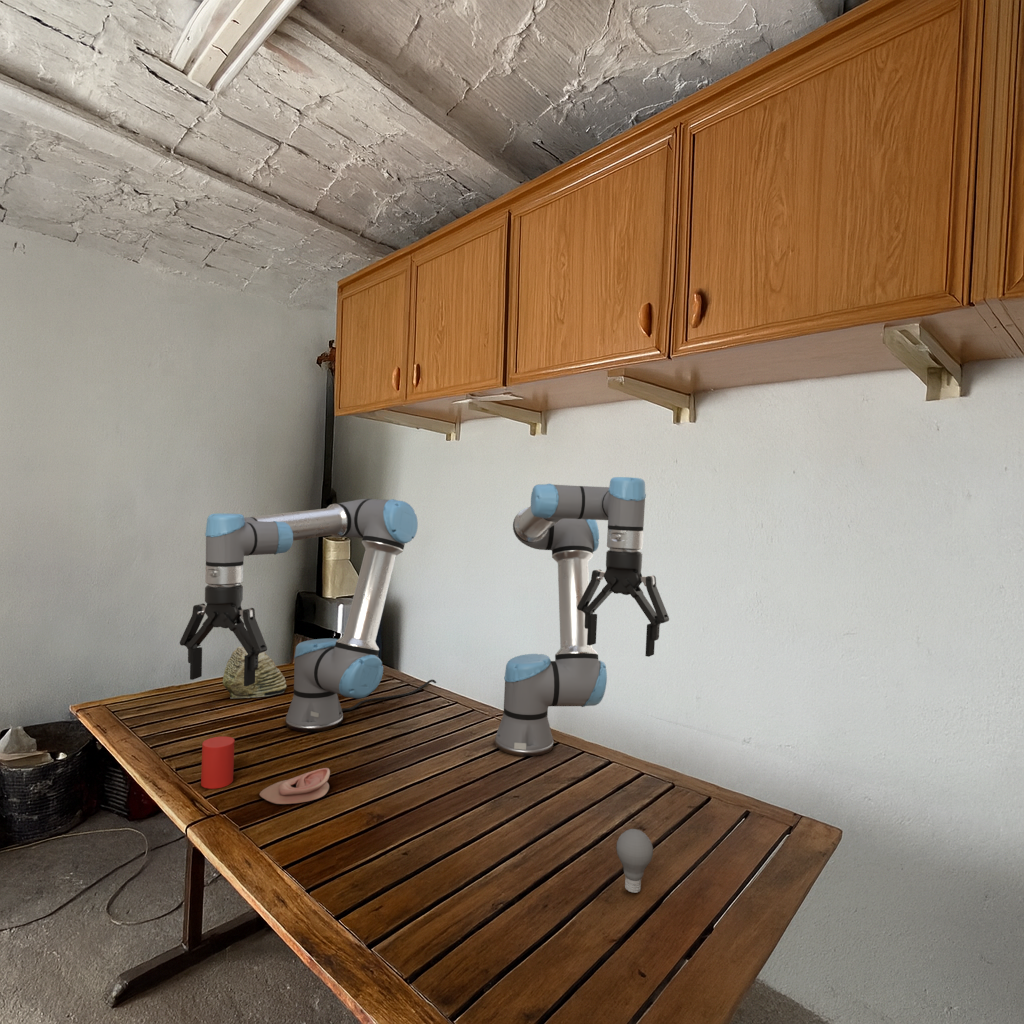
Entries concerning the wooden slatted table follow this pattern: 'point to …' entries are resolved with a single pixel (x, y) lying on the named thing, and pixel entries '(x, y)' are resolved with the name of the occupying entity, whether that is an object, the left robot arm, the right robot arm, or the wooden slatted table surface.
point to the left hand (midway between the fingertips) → (222, 681)
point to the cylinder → (217, 762)
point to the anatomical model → (298, 788)
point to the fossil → (265, 677)
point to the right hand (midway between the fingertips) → (619, 649)
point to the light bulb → (634, 857)
